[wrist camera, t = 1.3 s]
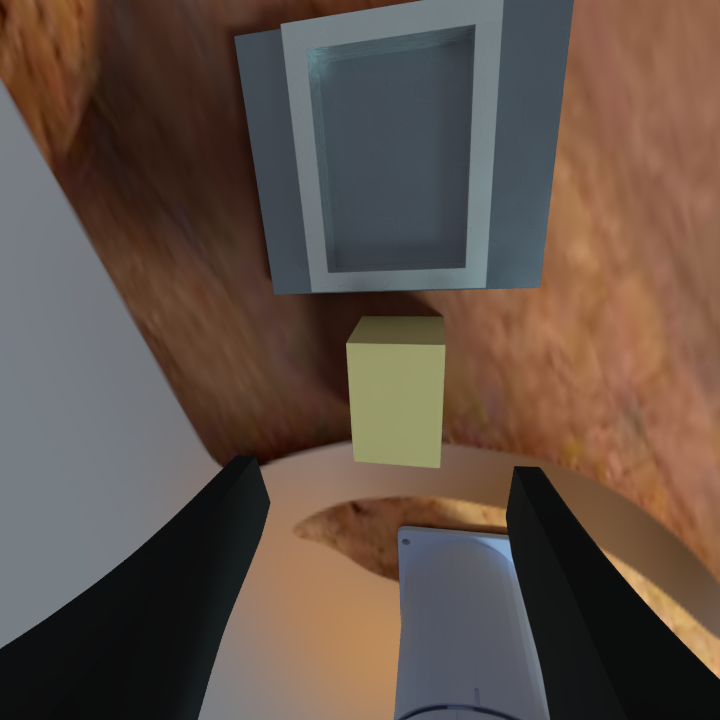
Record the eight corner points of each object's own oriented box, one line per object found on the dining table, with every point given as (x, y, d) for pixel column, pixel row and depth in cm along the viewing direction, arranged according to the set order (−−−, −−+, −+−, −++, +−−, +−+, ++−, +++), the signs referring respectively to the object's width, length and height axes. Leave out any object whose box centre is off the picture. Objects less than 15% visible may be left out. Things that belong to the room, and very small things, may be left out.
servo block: (439, 421, 21) (440, 468, 17) (367, 417, 22) (353, 461, 18) (443, 315, 19) (445, 345, 15) (362, 315, 19) (346, 343, 16)
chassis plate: (534, 282, 17) (549, 296, 15) (281, 289, 19) (261, 302, 17) (566, -6, 13) (593, -47, 11) (245, 45, 15) (213, 20, 13)
